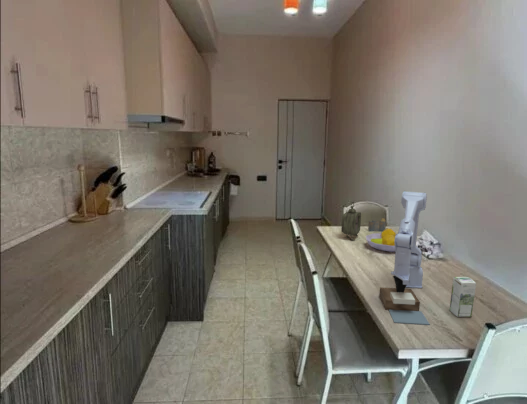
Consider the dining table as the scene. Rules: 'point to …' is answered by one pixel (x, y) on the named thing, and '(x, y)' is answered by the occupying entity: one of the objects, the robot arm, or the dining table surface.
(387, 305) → the block
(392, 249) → the fruit bowl
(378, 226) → the architectural model on board
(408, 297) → the tile
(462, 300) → the syrup box
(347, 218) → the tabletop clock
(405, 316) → the mat
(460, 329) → the dining table surface
